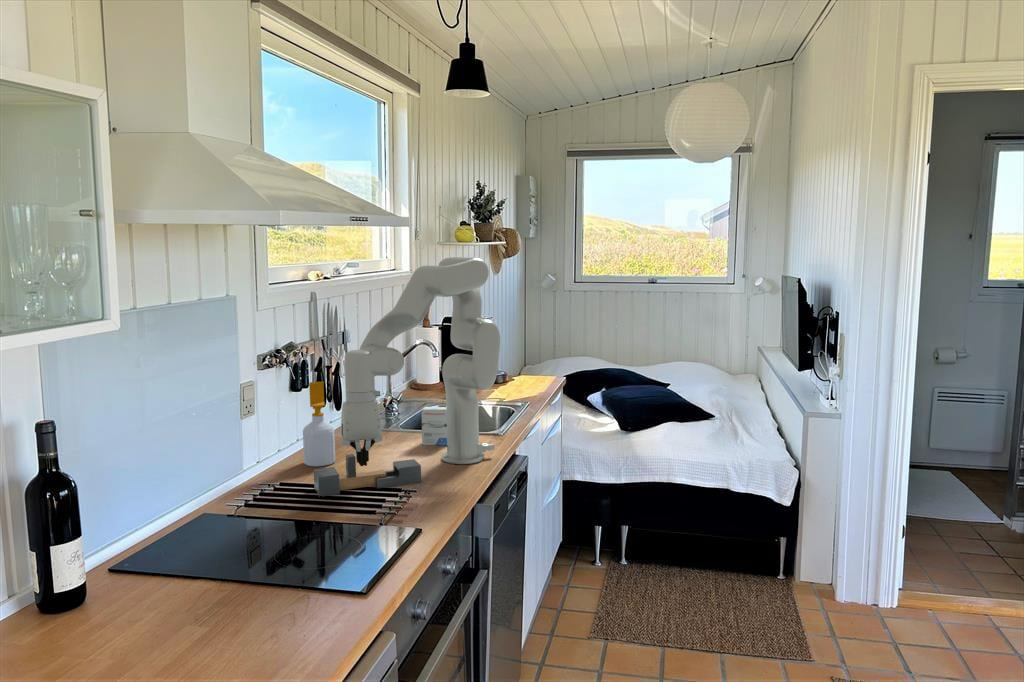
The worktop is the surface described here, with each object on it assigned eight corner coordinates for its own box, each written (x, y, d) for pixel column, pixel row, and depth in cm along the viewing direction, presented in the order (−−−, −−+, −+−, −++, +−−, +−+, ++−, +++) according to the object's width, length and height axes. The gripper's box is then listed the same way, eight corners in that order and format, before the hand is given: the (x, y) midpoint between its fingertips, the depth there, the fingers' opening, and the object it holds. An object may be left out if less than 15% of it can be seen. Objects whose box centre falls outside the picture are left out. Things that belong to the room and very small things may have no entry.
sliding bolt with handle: (383, 480, 212) (382, 450, 211) (386, 484, 209) (385, 453, 208) (323, 488, 206) (322, 457, 204) (326, 492, 203) (324, 460, 201)
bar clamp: (414, 475, 217) (413, 457, 217) (421, 482, 210) (421, 464, 210) (314, 488, 207) (313, 469, 206) (319, 496, 200) (318, 477, 199)
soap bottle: (304, 468, 225) (300, 384, 222) (304, 459, 234) (300, 379, 230) (336, 465, 227) (332, 382, 224) (334, 457, 236) (331, 377, 233)
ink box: (451, 441, 253) (450, 406, 251) (448, 446, 248) (447, 409, 246) (425, 441, 253) (424, 405, 252) (421, 445, 249) (421, 409, 247)
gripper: (385, 392, 211) (386, 457, 214) (329, 396, 205) (331, 464, 208) (391, 397, 204) (393, 465, 207) (334, 402, 198) (337, 472, 201)
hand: (362, 464), depth 207 cm, fingers closed
